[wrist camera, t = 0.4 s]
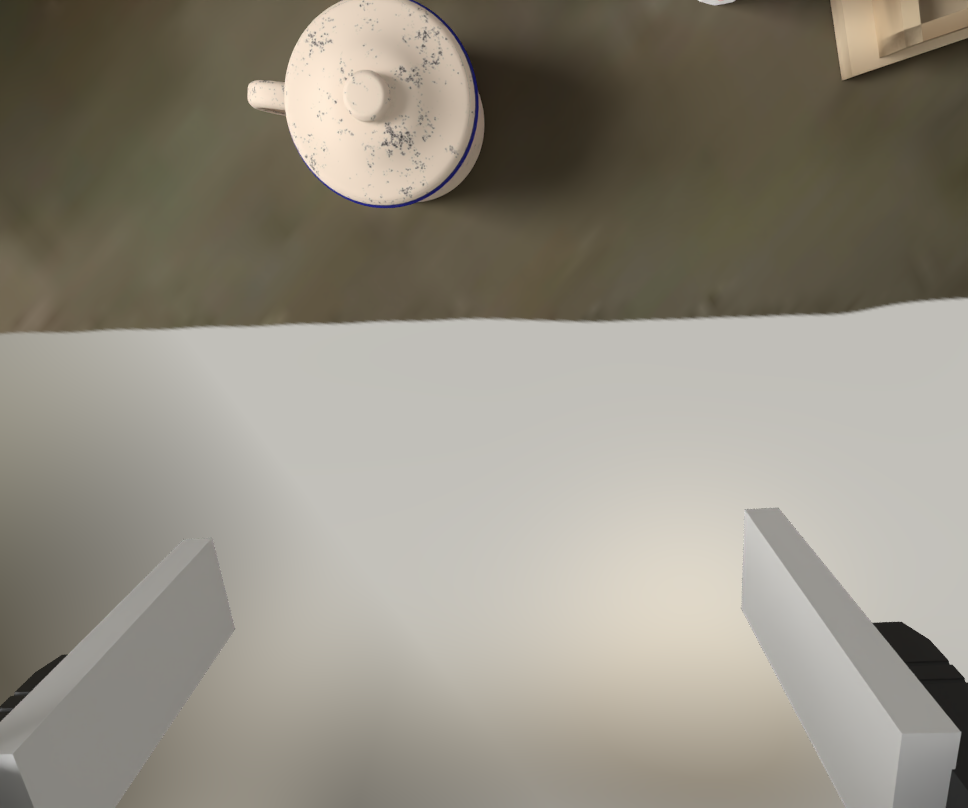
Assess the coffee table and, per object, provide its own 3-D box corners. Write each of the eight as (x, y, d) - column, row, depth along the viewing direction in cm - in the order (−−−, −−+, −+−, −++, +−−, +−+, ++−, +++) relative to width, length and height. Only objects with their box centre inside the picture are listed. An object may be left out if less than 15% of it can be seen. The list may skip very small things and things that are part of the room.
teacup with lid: (499, 49, 36) (486, -17, 25) (478, 215, 39) (459, 221, 28) (290, 22, 36) (187, -55, 25) (285, 189, 39) (190, 185, 28)
